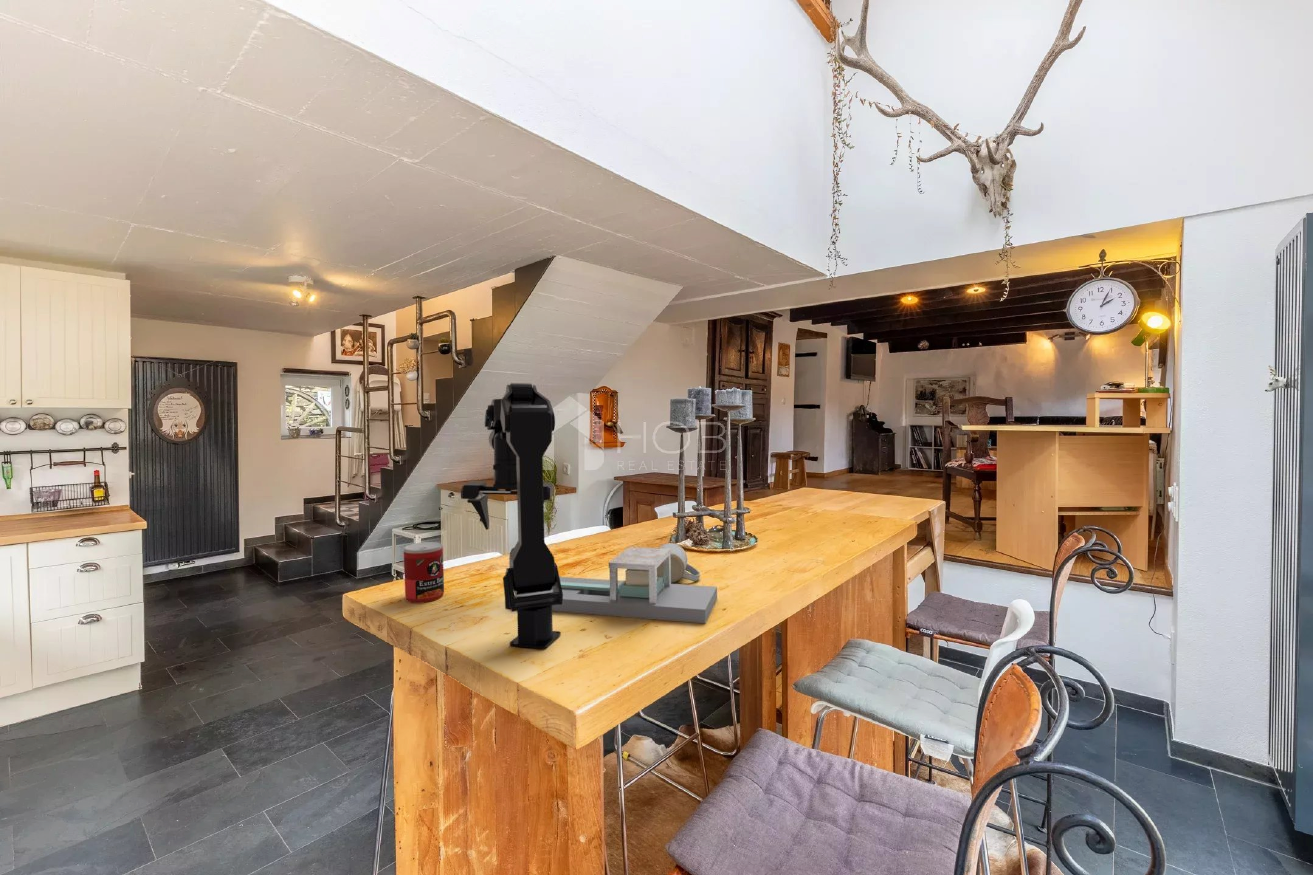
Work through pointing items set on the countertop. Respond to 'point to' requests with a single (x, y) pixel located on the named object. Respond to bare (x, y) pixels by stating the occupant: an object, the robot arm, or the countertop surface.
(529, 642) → the robot arm
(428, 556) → the canned food
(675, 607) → the slate deck
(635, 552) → the grey stone table
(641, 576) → the beech block
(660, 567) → the ceramic mug
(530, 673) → the countertop surface
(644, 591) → the long teal base
